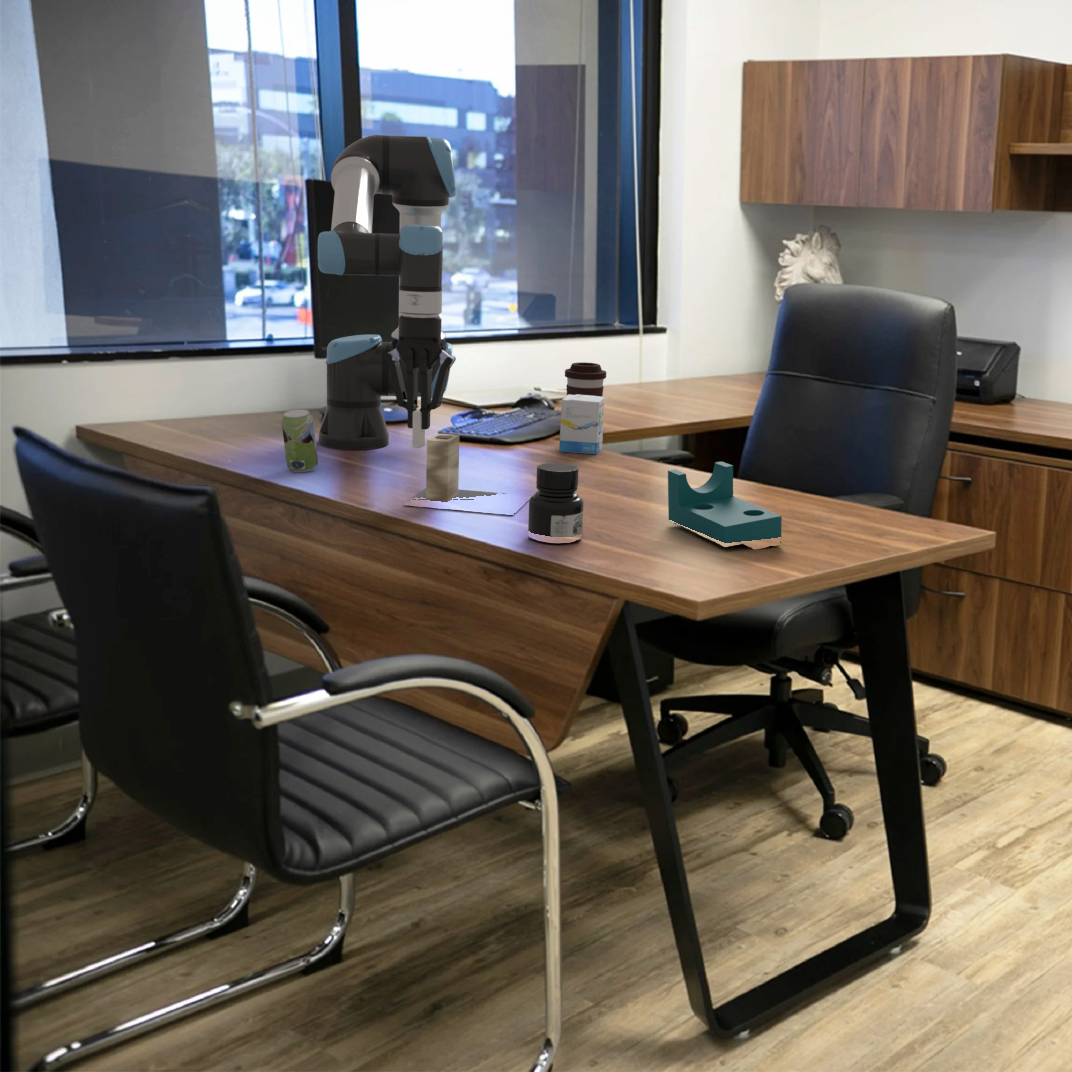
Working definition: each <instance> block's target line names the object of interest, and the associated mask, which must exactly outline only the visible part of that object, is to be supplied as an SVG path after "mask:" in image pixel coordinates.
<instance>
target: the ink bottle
mask: <svg viewBox="0 0 1072 1072" xmlns="http://www.w3.org/2000/svg"><path fill="white" fill-rule="evenodd" d="M536 466H537V467H536V479H535V480H536V489H537V491H535V494H533V495H531V498H530V500H529V501H528V527H527V530H528V531H530V532H531V533H534V534H539V535H545V536H550V537H574V536H576V535H580V534H582V535H583V528H584V527H583V526H584V525H583V524H584V522H583V521H584V500H583V499H582V497H581V496H580V495H579V494H578V493H577V492H576V491H578V489H579V488H578V487H579V486H578V485H579V470H580V469H579V467H578V466H577V465H574V464H571V463H564V462H545V463H541V464H538V465H536ZM528 531H527V532H528Z"/></svg>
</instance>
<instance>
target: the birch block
mask: <svg viewBox="0 0 1072 1072" xmlns="http://www.w3.org/2000/svg"><path fill="white" fill-rule="evenodd" d="M459 468H460V434H452V433H451V434H450V433H449V434H448V433H437V434H435V435H433V436H432V437H430V438H428V439H427V440H426V477H425V478H426V479H425V482H426V483H425V484H426V485H425V486H426V487H425V488H426V500H430V501H441V502H448V501H450V500H451V499H452V498H454V497H455V496H456V495H457V494H458V489H459V476H460V474H459V473H460V472H459V471H460V469H459Z"/></svg>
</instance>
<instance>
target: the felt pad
mask: <svg viewBox="0 0 1072 1072" xmlns="http://www.w3.org/2000/svg"><path fill="white" fill-rule="evenodd" d="M497 493H498V492H493V491H480V490H468V489H459V488H458V494H457V495H456V496H455V497H454V498H456V497H459V498H463V497H466V498H469V497H476V496H484V495H486V496H491V495H496V494H497ZM501 493H502V494H506V493H505V492H504V493H503V492H501ZM415 497H417V498H421V497H423V498H426V487H425V488H423V489H422V490H420V491H419V492H418V493H417V494H415V495H413V496H412V497H411V498H415ZM411 498H410V499H411ZM410 499H408V500H409V501H410ZM412 500H416V499H412ZM418 500H426V499H418ZM451 500H452V499H451ZM453 500H458V499H453ZM460 500H474V499H460Z"/></svg>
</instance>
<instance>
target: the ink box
mask: <svg viewBox="0 0 1072 1072" xmlns="http://www.w3.org/2000/svg"><path fill="white" fill-rule="evenodd" d="M605 397H606V396H602V397H601V396H590V395H579V394H576V395H569V394H568V395H567V394H566V396H564V397H563V398H562V399H561V406H560V407H561V408H560V427H559V430H560V431H559V447H558V448H559V449H558V451H559V452H562V453H574V454H589V455H597V454H598V453H599V452H600V450H602V449H603V442H604V441H603V439H604V438H603V437H604V435H603V434H604V418H605V417H604V416H605Z"/></svg>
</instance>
